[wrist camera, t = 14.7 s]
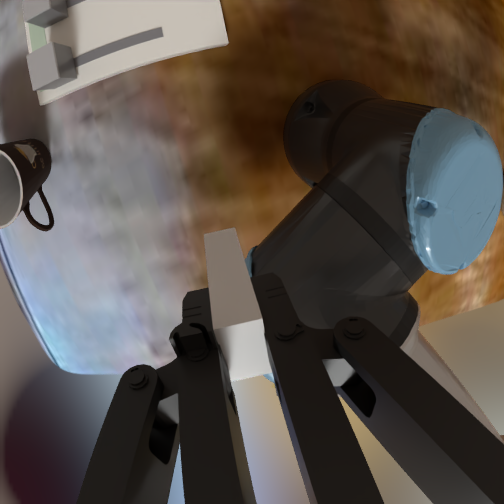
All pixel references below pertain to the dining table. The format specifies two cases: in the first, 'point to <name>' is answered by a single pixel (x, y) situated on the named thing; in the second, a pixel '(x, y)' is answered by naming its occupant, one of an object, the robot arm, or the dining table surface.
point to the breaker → (51, 66)
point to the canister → (502, 201)
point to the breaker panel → (127, 36)
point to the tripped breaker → (44, 12)
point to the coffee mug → (23, 180)
